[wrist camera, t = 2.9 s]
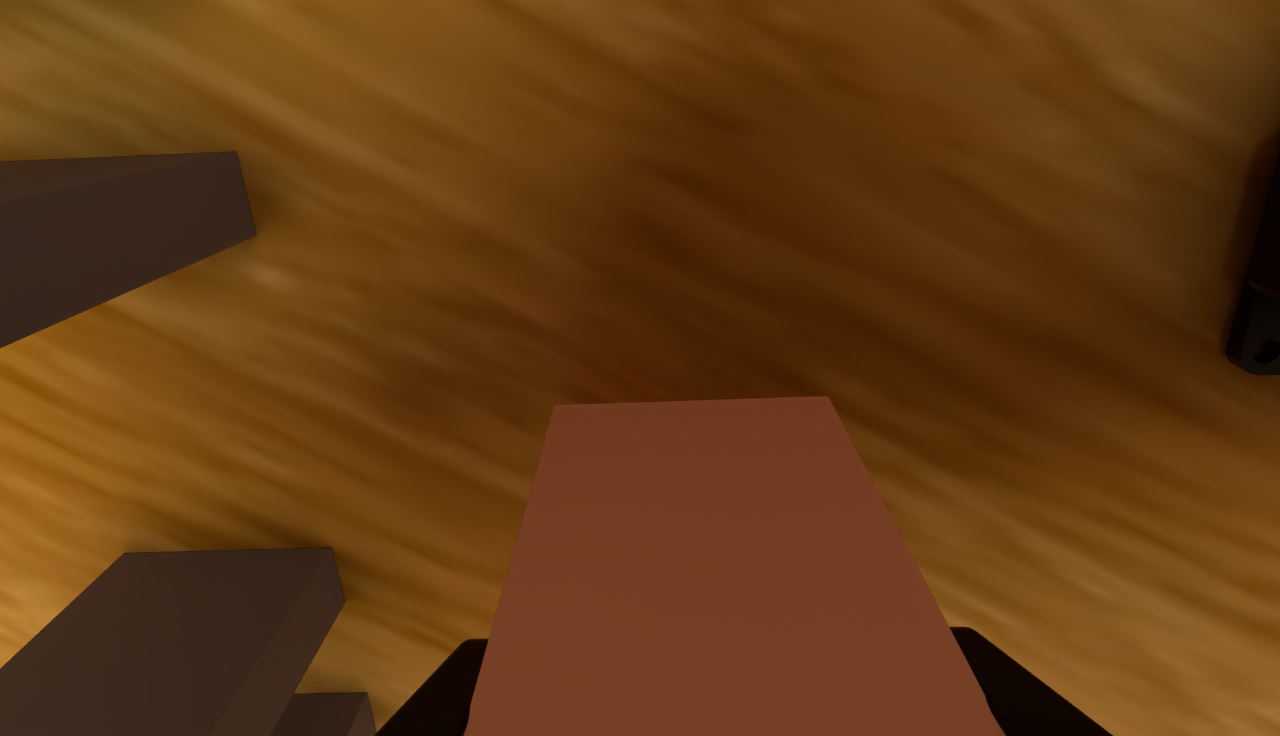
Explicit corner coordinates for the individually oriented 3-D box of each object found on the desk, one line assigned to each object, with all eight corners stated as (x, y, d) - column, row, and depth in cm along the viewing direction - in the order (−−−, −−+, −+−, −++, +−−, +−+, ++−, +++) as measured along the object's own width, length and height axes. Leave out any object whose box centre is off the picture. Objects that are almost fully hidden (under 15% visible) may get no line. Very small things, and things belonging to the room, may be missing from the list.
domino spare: (828, 396, 14) (1041, 802, 6) (823, 472, 14) (1011, 925, 7) (554, 404, 14) (439, 813, 6) (561, 480, 14) (465, 932, 7)
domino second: (332, 547, 17) (97, 905, 10) (345, 602, 18) (133, 976, 11) (124, 553, 18) (-258, 909, 10) (144, 607, 18) (-202, 979, 11)
